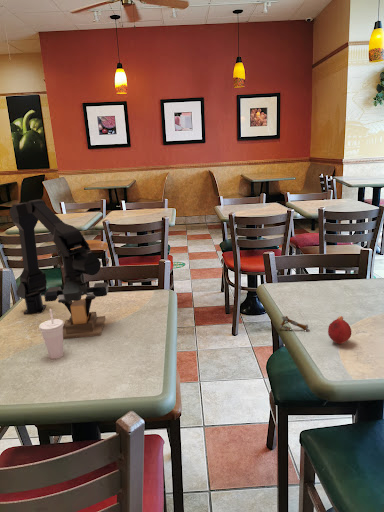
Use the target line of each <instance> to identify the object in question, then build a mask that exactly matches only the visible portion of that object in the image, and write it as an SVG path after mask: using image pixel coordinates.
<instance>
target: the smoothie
mask: <svg viewBox="0 0 384 512" xmlns="http://www.w3.org/2000/svg"><path fill="white" fill-rule="evenodd" d="M48 310H49V315H50V319H48V320H46V321H43V322H42V323H40V324H39V326H38V329H39V332H41V335H42V339H43V341H44V344H45V347H46V351H47V353H48V357H49V358H50V359H51V360H56V359H60V358H62V357H63V356H64V339H63V326H64V320H63V319H58V318H54V316H53V310H52V308H49V309H48Z"/></svg>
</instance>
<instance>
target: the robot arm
mask: <svg viewBox="0 0 384 512" xmlns="http://www.w3.org/2000/svg"><path fill="white" fill-rule="evenodd" d="M9 215H10V217H11V220H12V223H13V224H14V226H16V227H17V229H18V234H19V241H20V249H21V256H22V264H23V270H22V271H21V274H20V276H19V285H18V287H17V290H16V294H17V296H18V298H21V299H24V302H25V308H26V309H25V310H24V312H23V314H24V315H28V314H37V313H43V311H44V310H45V309H46V308H47V304H44V303H43V298H42V294H43V293H44V295H43V296H44V302H46V303H47V302H55V301H56V300H57V299H58V300H57V302H58V303H59V304H60V303H61V304H63V305H64V306H65V307H66V309H67V310H68V312H69V314H70V316H71V315H72V314H71V307H70V306H71V304H72V303H73V301H79V300H80V299H82V297H83V296H85V298H84V299H85V301H86V314H87V317H88V316H89V312H91V305H92V301H93V300H95V299H96V298H98V297H105V296H108V293H109V285H108V283H107V282H95V283H94V285H93V286H89V287H88V284H87V283H86V277H85V275H89V276H96V275H97V274H98V273H99V271H100V270H101V266H102V264H101V261H100V258H99V257H98V256H95V254H94V251H91V248H90V244H89V243H88V241H87V240H86V239H85V237H84V235H83V234H82V232H81V231H80V230H79V229H78V228H76V227H75V226H74V225H71V224H69V223H68V224H67V223H65V222H64V221H63V220H62V219H61V218H59V216H58V215H57V214H56V213H55V212H54V211H52V209H51V208H50V207H48V205H47V204H46V202H45V200H44V199H34V200H29V201H27V202H21V203H20V202H19V203H15V204H12V205H11V207H10V208H9ZM38 222H40V224H42V225H43V227H45V229H47V231H49V233H50V234H51V235H52V242H53V243H54V244H55V246H56V247H57V249H58V250H59V251H58V253H57V256H60V257H61V260H62V265H63V272H64V273H63V274H64V285H63V289H62V287H61V286H54V287H53V286H52V287H49V288H47V285H48V284H47V283H48V281H47V277H46V276H47V275H46V273H45V272H43V271H42V270H41V269H40V267H39V265H40V264H39V259H38V257H39V256H38V249H37V240H36V233H35V229H36V226H37V225H38Z"/></svg>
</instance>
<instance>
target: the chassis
mask: <svg viewBox="0 0 384 512" xmlns="http://www.w3.org/2000/svg"><path fill="white" fill-rule="evenodd" d="M105 320H106V315H102V316H101V315H100V316H98V315H97V311H89V321H88V323H84V324H74V325H73V320H72V315H71V314H70V317H69V318H68V319H65V321H64V322H63V324H64V326H63V340H70V339H77V338H78V339H79V338H86V337H87V338H88V337H97V336H101V335H102V332H103V328H104V325H105Z"/></svg>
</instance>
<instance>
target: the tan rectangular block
mask: <svg viewBox="0 0 384 512" xmlns="http://www.w3.org/2000/svg"><path fill="white" fill-rule="evenodd" d="M72 302H73V303H72V304H71V306H70V307H71V314H72V320H73V325H74V324H84V323H88V321H89V316H88V317H87V314H86V301H85V298H81V299H80V300H79V301H72ZM71 314H70V315H71Z"/></svg>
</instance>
